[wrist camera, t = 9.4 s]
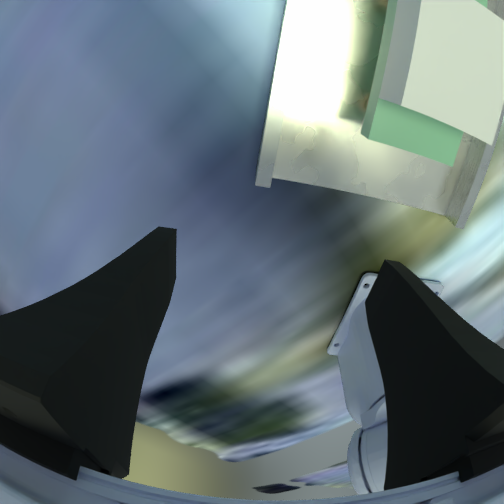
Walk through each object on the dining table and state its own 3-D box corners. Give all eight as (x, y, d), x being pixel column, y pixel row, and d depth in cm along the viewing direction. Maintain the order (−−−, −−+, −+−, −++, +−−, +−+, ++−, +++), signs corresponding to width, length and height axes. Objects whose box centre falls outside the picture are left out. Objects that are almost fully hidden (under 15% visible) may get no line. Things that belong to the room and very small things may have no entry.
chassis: (447, 212, 19) (469, 236, 16) (256, 170, 18) (254, 192, 15) (498, -7, 9) (528, -9, 6) (303, -93, 8) (310, -117, 5)
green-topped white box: (441, 159, 14) (477, 185, 11) (360, 133, 13) (387, 154, 10) (474, 0, 8) (516, -4, 5) (393, -43, 8) (426, -63, 5)
